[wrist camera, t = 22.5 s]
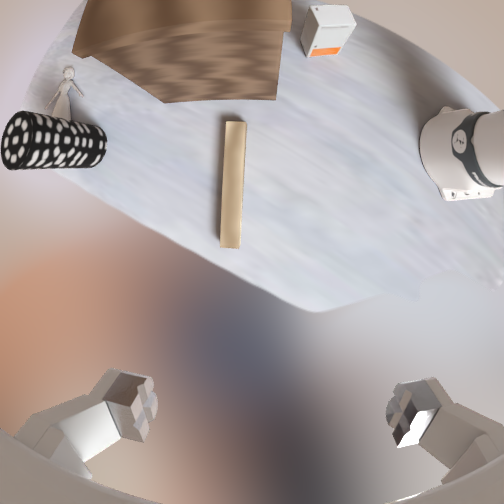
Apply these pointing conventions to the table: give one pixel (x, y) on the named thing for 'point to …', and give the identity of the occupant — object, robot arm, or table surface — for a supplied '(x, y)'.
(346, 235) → the table surface
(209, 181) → the table surface
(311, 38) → the skincare box
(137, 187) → the table surface
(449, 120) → the robot arm
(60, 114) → the woman figurine
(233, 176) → the rod
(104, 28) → the stand
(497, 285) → the table surface
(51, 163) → the white-spotted black cylinder
